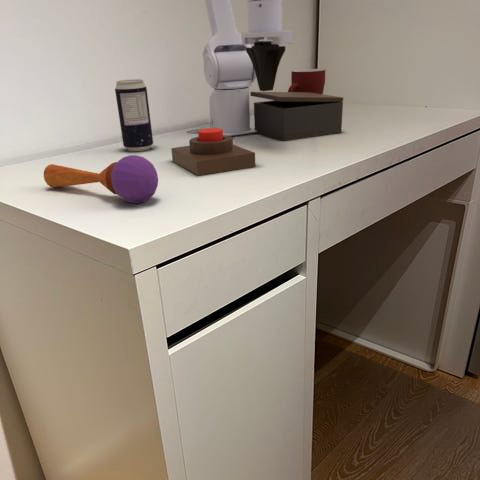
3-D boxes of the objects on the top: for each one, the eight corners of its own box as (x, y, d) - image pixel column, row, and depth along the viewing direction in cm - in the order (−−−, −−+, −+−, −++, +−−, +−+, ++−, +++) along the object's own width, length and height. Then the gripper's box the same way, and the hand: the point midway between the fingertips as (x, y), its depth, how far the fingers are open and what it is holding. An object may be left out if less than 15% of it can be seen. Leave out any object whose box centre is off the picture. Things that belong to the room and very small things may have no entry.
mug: (304, 120, 120) (305, 73, 115) (278, 117, 125) (277, 72, 120) (330, 113, 126) (332, 69, 121) (304, 111, 131) (304, 68, 126)
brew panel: (172, 161, 88) (169, 137, 86) (225, 153, 91) (223, 130, 89) (197, 175, 78) (195, 148, 76) (255, 166, 82) (254, 140, 80)
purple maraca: (67, 154, 76) (166, 155, 66) (72, 195, 78) (168, 202, 68) (32, 154, 72) (132, 155, 61) (38, 198, 74) (136, 206, 63)
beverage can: (159, 146, 99) (151, 79, 93) (142, 152, 95) (133, 82, 89) (135, 145, 101) (126, 79, 95) (118, 151, 97) (107, 82, 91)
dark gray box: (283, 140, 99) (283, 108, 96) (254, 131, 109) (253, 102, 106) (341, 132, 104) (343, 102, 101) (308, 124, 114) (309, 96, 111)
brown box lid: (280, 101, 95) (280, 96, 95) (250, 95, 105) (250, 91, 105) (343, 101, 101) (343, 97, 101) (309, 96, 111) (309, 92, 111)
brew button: (195, 141, 84) (194, 129, 83) (217, 138, 85) (216, 127, 84) (204, 145, 81) (203, 133, 80) (227, 141, 82) (226, 130, 81)
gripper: (309, -3, 80) (307, 91, 87) (264, 3, 91) (266, 85, 98) (270, -2, 77) (271, 95, 84) (229, 4, 89) (233, 89, 95)
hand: (266, 90), depth 91 cm, fingers closed
